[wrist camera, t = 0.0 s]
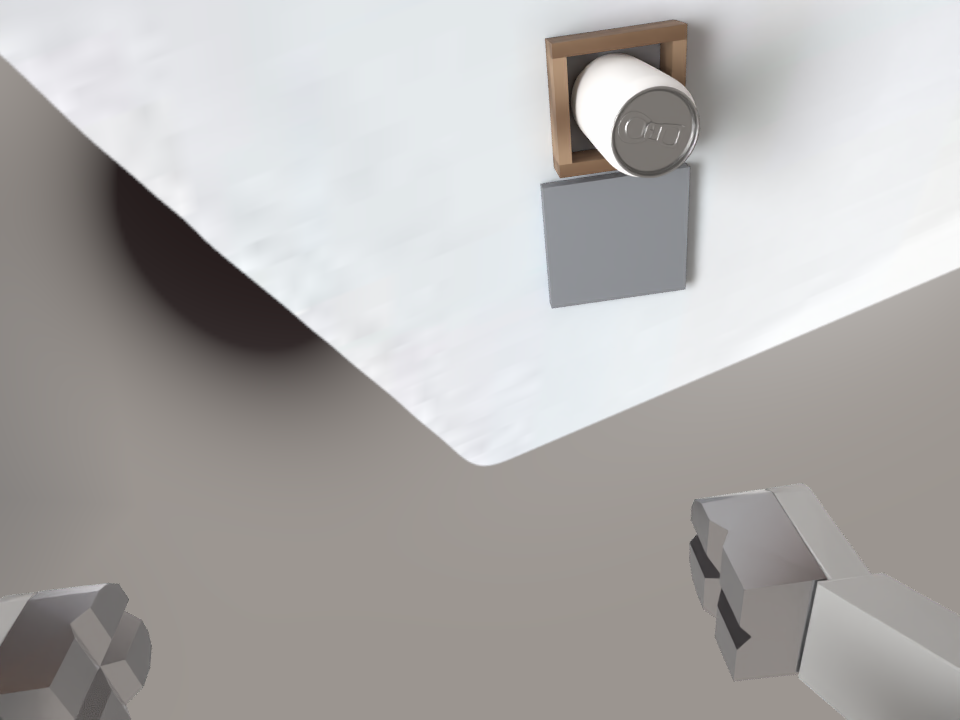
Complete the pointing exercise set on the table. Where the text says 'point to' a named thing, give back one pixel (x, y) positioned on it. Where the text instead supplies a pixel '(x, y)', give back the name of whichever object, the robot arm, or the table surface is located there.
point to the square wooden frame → (560, 48)
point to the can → (635, 115)
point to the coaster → (615, 236)
